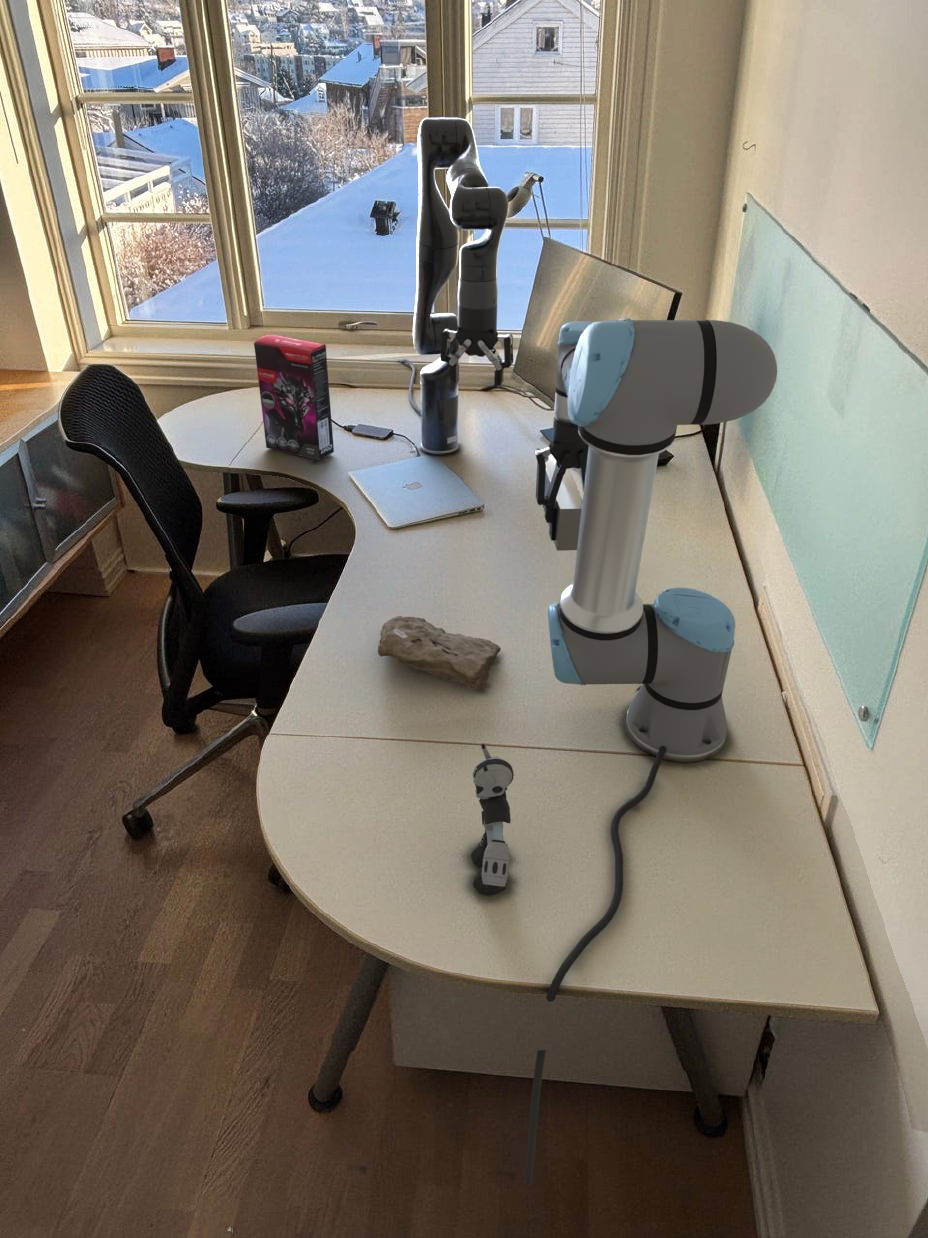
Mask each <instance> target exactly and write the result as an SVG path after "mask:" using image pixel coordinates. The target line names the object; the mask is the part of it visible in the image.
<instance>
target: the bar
mask: <svg viewBox="0 0 928 1238" xmlns="http://www.w3.org/2000/svg"><path fill="white" fill-rule="evenodd" d="M548 458H549V459H548V461H547V462H545V464H546V477H545V495H544V496H546V495H547V492H548V489H549V486H550V483H551V479H552V476H553V473H554V470H555V465H556V460H555V458H554V457H553V456H552V454H550V455H549V457H548ZM582 501H583V497H582V496H581V494H580V490H579V488H578V486H577V484H576V481H575V478H574V476H573V474H572V471H571V468H570V469H566V472H565V474H564V476H563V479H562V482H561V485H560V488H559V491H558V494H557V497H556V500H555V503H556V506H557V522H556V536H555V541H553V543H554V546H555V549H556V552H560V551H565V552H566V551H577V545H578V537H579V528H580V519H581V510H582ZM541 506H542V510H543V511H544V513H545V505H541ZM547 524H548V527H550V523H547Z"/></svg>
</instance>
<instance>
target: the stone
mask: <svg viewBox="0 0 928 1238" xmlns="http://www.w3.org/2000/svg"><path fill="white" fill-rule="evenodd" d="M381 626H382V627H381V630H380V639H379V645H378V648H377V653H378V656H380V657H391V658H394V659H395V660H397V662H398V663H399V664H400V665H403V666H407V667H408V666H409V667H411V668H412V669H415V670H419V671H425V672H426V673H429V674H431V675H435V676H436V677H439V678H441V679H444V680H446V681H448V682H450V683H456V684H463V685H466V686H467V687H468V688H470V689H472V690H475V691H480V690H482V689H483V688H484V686H485V685H486V682H487V681H488V678H489V677H490V676H489V675H490V674H489V672H490V670H491V668H492V666H493V664H494V662H495V660H496V658H497V656H498V653H500V651H501V650H502V648H501V647H500V646H499V645H498V644H496V643H495V642H492V641H491V640H490V639H485V638H481V637H473V636H466V635H463V634H461V633H452V632H446V631H445V629H443V628H442V627H436V626H434V624H433V623H431V622H429V621H427V620H426V619H425V618H424V617H416V616H402V615H398V616H395V617H392V618H391V619H389V620H387V621H385V622H384V623H383V625H381Z"/></svg>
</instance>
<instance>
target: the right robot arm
mask: <svg viewBox="0 0 928 1238" xmlns="http://www.w3.org/2000/svg"><path fill="white" fill-rule="evenodd" d="M556 346H557V364H556V385H555V394H554V406H553V407H554V409H553V413H554V416H553V424H552V439H551V441H550V443H549V445H548V446H547V447H545V448H543V449H541V448H535V449H534V456H535V458H536V462H537V463H536V464H537V465H536V481H535V500H536V502H537V504H538V505H539V506H542V505H545V512H544V518H545V522H546V523H547V524H548V523H550V527H549V526H548V527H549V528H548V531H549V532H548V535H549V538H550V541H553V542H554V541H555V536H556V522H557V506H556V503H555V500H556V497H557V494H558V491H559V488H560V485H561V482H562V479H563V476H564V474H565V472H566V469H570V470H571V469H577V470H579V477H580V482H581V487H582V510H581V519H580V528H579V537H578V545H577V550H576V555H575V565H574V572H573V581H572V583H571V584H570V585H569V586H567V587H566V588H565V589H564V591H562V593H561V596H560V600H559V602H555V603H553V604H549V606H548V608H547V619H548V632H549V640H550V641H549V642H550V651H551V652H550V653H551V660H552V661H551V662H552V668H553V674H554V677H555V678H556V679H557V681H559V682H561V683H563V684H568V685H569V684H570V685H580V686H587V685H640V686H638V687H637V688H636V690H635V693H636V694H635V695H634V697H633V699H632V701H631V702H630V704H629V706H628V708H627V712H626V719H625V728H626V732H627V734H628V736H629V738H630V739H631V741H632V742H634V744H636V745H637V746H638V747H639V748H640V749H641V750H643V751H645V752H646V753H648V754H650V755H651V756H654V757H655V759H654V761H653V764H652V766H651V769H650V771H649V774H648V776H647V780H646V782H645V784H644V786H643V788H642V789H641V790H640V791H639V792H638V794H636V795H635V796H633V797H632V798H631V799H630V800H628V801H627V802H625V803H624V804H622V805H621V806H620V807H619V808H618V809H617V810H616V812H615V814H614V816H613V818H612V820H611V824H610V835H611V842H612V847H613V852H614V862H615V863H614V866H615V867H614V892H613V896H612V900H611V903H610V905H609V907H608V909H607V911H606V912H605V914H604V915H603V916H602V918H601V919H599V921H597V923H596V924H595V925H593V927H591V928H590V929H589V930H588V931H586V933H585V935H583V936H582V937H581V939H580V940H578V942H577V943H576V945H575V946H574V947H573V949H572V950H571V951H570V953H568V955H567V956H566V957H565V959H564V960H563V961H562V963H561V965H560V966H559V968H558V970H557V972H556V973H555V975H554V977H553V979H552V981H551V984H550V986H549V988H548V991H547V994H546V997H545V998H546V1001H547V1002H549V1003H551V1002H554V1001H555V999H556V997H557V994H558V992H559V990H560V987H561V985H562V982H563V980H564V978H565V977H566V974H567V973H568V971H569V970H570V968H571V967H572V966H573V964H574V963H575V962H576V961H577V959H578V958H579V957H580V956H581V954H582V952H584V950H585V948H587V947H588V945H589V944H590V943H591V942H592V941H593V940H594V939H595V938H596V937H597V936H598V935H599V934H600V933H601V932H602V931H603V930H604V929H605V928H607V926H608V925H609V924H610V922H612V920H613V918H614V916H615V915H616V913H617V912H618V909H619V908H620V907H619V906H620V903H621V900H622V896H623V890H624V855H623V848H622V845H621V844H622V843H621V840H620V835H619V827H620V826H619V825H620V822H621V820H622V818H623V817H624V816H625V814H626V813H627V812H628V811H630V810H631V809H633V808H634V807H635V806H638V804H640V803H641V802H642V801H643V800H645V798H646V797H647V796H648V795H649V793H650V792H651V789H652V787H653V785H654V784H655V781H656V777H657V775H658V771H659V769H660V767H661V765H662V761H663V760H666V761H670V762H675V763H694V762H700V761H703V760H706V759H709V758H711V757H714V755H716V754H718V752H720V751H721V750H722V748H723V747H724V744H725V743H726V740H727V739H726V738H727V733H728V721H727V716H726V712H725V708H724V707H725V706H724V701H723V692H724V686H725V682H726V678H727V674H728V673H727V672H728V668H729V664H730V659H731V654H732V651H733V649H734V646H735V632H736V620H735V617H734V614H733V612H732V611H731V609H730V608H729V607H728V606H727V605H726V604H725V603H724V602H723V601H722V600H720V599H718V598H717V597H715V596H713V595H711V594H710V593H707V592H704V591H702V590H698V589H695V588H690V587H671V588H670V587H669V588H667V589H665V590H663V591H660V592H659V593H658V594H657V596H656V597H655V599H654V600H653V601H654V602H653V603H643V601H642V598H641V596H640V595H639V594H638V592H636V589H637V586H638V585H637V584H638V579H639V572H640V566H641V560H642V556H643V549H644V543H645V537H646V532H647V525H648V519H649V514H650V513H649V512H650V508H651V503H652V497H653V491H654V485H655V479H656V473H657V466H658V461H659V456H660V454H662V453H663V452H665V451H667V450H668V449H669V448H671V446H673V444H674V442H675V438H676V435H677V429H678V426H688V425H689V426H690V425H691V426H693V425H694V426H698V425H699V426H701V425H716V424H721V423H722V424H723V423H728V422H731V421H735V420H738V419H741V418H743V417H746V416H748V415H749V414H751V413H752V412H754V411H756V410H758V409H759V408H760V407H761V406H762V405H763V404H764V403H765V402H766V401H767V400H768V398H770V396H771V394H772V392H773V390H774V388H775V385H776V382H777V377H778V365H777V364H778V363H777V360H776V355H775V353H774V351H773V349H772V348H771V346H770V344H769V343H768V342H767V341H766V339H764V338H763V337H762V335H760V334H759V333H757V332H755V331H754V330H752V329H750V328H749V327H746V326H743V325H741V324H738V323H734V322H731V321H727V320H716V319H705V320H695V319H694V320H693V319H692V320H690V319H689V320H685V319H684V320H681V319H680V320H679V319H674V320H672V319H631V318H627V317H623V318H620V319H618V320H617V319H616V320H597V321H595V322H592V321H579V320H578V321H570V322H567V323H565V324H563V325H562V326H561V327H560V329H559V336H558V343H557V345H556ZM550 454H552V456H553V457H554V458H555V460H556V465H555V470H554V473H553V476H552V479H551V483H550V486H549V489H548V492H547V495H546V496H544V495H545V477H546V464H545V462H547V461H548V459H549V458H548V457H549V455H550ZM546 1052H547V1050H546V1049H538V1050H537V1051H536V1058H535V1063H534V1064H535V1065H534V1072H533V1080H532V1089H531V1099H530V1109H529V1110H530V1111H529V1123H528V1135H527V1148H526V1149H527V1150H526V1160H525V1161H526V1162H525V1172H524V1181H523V1183H524V1186H526V1187H530V1186H532V1182H533V1174H534V1173H533V1172H534V1164H535V1154H536V1141H537V1129H538V1119H539V1109H540V1099H541V1089H542V1081H543V1073H544V1067H545V1060H546V1059H545V1058H546Z"/></svg>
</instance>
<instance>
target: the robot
mask: <svg viewBox="0 0 928 1238" xmlns="http://www.w3.org/2000/svg"><path fill="white" fill-rule="evenodd" d="M480 748H481V750H482V753H483V755H484V759H483V760H481V761H480V762H479V763H478V764H477V765H476V766H474V767H475V768H474V769H473V772H472V778H473V784H474V786H475V797H476V798H477V799H478V802H479V805H480V806H481V809H482V810H481V823H482V826H483V827H484V833H483V834H482V837H481V838H480V841H479V842H478V844H477V845H476V847H475V848H474V849H473V850H472V852H471V854H470V857H471V859H472V862H473V864H474V865H475V866H477V867H478V868H479V869H478V870H477V871H476V874H475V876H474V880H473V883H472V886H473V887H474V888H475V890H476V891H477V892H478V893H479V894H482V895H487V896H490V895H496V894H497V893H500V892H502V891H504V890H506V887H507V883H508V877H509V869H510V864H511V863H510V857H511V855H510V850H509V846H508V843H507V842H506V841H505V839H504V823H506V824H511V820H512V819H511V807H510V804H509V801H508V799H507V792H506V791H508V787H509V786H510V784H512V782H513V781H514V776H515V775H514V769H513V766H512V765H511V764H510V762H508V761H506V760H505V759H503V758H502V757H499V756H491V753H490V752H489V750H488V748H487V746H486V745H485V743H481V745H480Z"/></svg>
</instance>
